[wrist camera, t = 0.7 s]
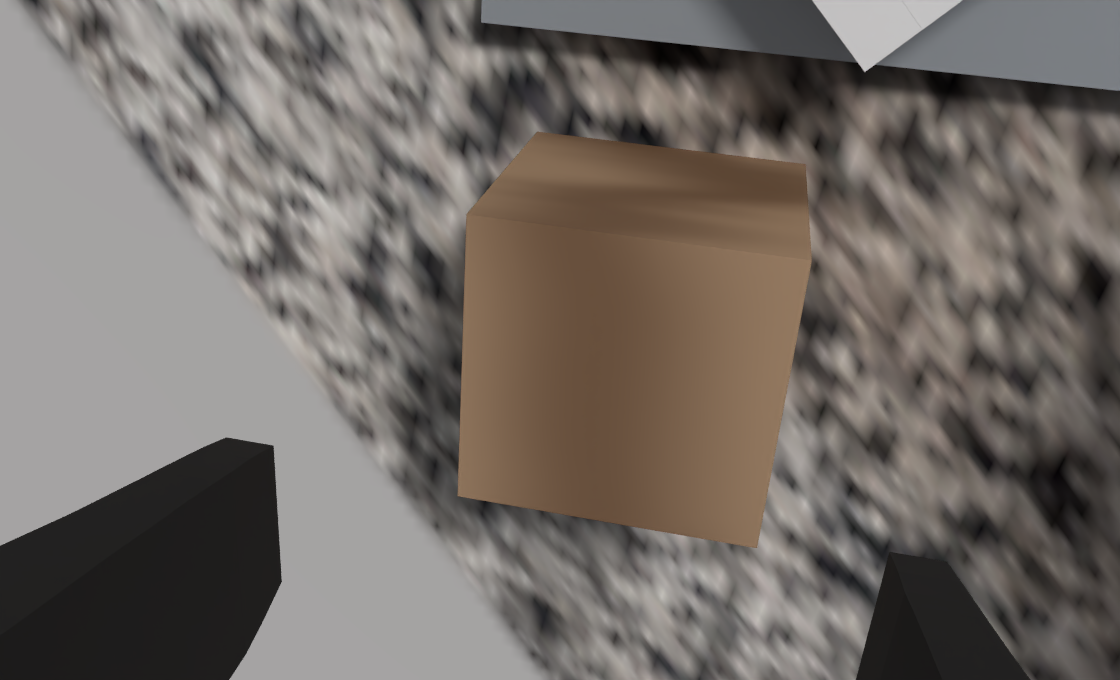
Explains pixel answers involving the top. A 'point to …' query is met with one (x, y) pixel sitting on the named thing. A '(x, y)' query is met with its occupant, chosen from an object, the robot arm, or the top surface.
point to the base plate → (801, 34)
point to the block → (632, 333)
